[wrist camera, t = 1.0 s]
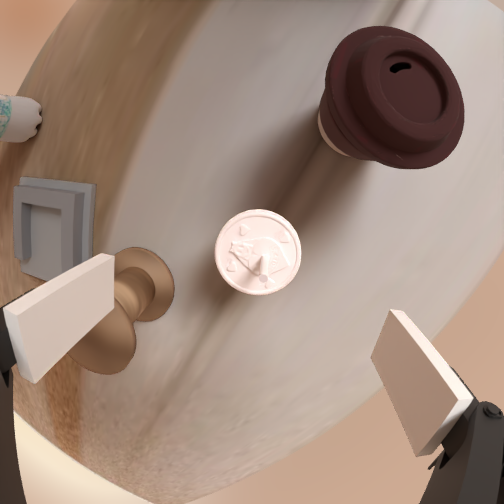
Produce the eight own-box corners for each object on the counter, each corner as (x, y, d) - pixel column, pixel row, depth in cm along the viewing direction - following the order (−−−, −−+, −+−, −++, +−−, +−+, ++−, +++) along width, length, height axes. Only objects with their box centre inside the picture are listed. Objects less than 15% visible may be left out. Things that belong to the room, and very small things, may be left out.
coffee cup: (388, 178, 28) (474, 186, 13) (298, 161, 28) (326, 147, 14) (395, 93, 25) (474, 49, 11) (308, 72, 26) (337, -3, 11)
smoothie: (281, 267, 31) (287, 336, 18) (223, 249, 31) (188, 306, 18) (301, 210, 29) (325, 240, 16) (241, 191, 29) (215, 205, 16)
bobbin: (109, 240, 32) (44, 272, 20) (178, 255, 32) (130, 299, 20) (108, 307, 34) (56, 355, 22) (172, 325, 34) (133, 386, 22)
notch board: (24, 176, 30) (10, 178, 27) (96, 184, 30) (82, 186, 27) (25, 269, 34) (12, 275, 31) (93, 292, 34) (81, 301, 31)
